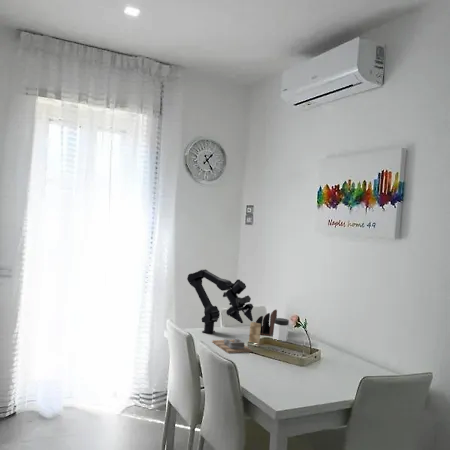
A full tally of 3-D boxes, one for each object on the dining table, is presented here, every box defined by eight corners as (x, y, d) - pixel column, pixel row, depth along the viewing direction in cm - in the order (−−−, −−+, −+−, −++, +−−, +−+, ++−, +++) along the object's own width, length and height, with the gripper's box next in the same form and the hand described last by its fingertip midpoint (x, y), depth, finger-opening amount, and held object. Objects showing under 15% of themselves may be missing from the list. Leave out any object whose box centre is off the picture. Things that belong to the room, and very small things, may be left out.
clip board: (212, 342, 267) (212, 334, 267) (234, 341, 273) (235, 334, 273) (227, 353, 249) (228, 345, 249) (251, 351, 255) (252, 344, 255)
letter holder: (275, 329, 312) (277, 308, 311) (270, 336, 293) (272, 313, 292) (260, 327, 314) (262, 306, 314) (254, 334, 295) (256, 311, 295)
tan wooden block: (248, 344, 269) (250, 322, 268) (251, 344, 271) (253, 321, 271) (255, 347, 266) (257, 324, 265) (259, 346, 268) (261, 323, 268)
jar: (290, 340, 286) (292, 320, 286) (280, 342, 281) (282, 321, 280) (279, 337, 293) (281, 317, 292) (270, 338, 288) (271, 318, 287)
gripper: (232, 292, 268) (246, 315, 261) (252, 289, 282) (266, 312, 275) (220, 303, 273) (233, 327, 266) (240, 300, 287) (253, 323, 280)
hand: (247, 322), depth 272 cm, fingers open, 9 cm apart
